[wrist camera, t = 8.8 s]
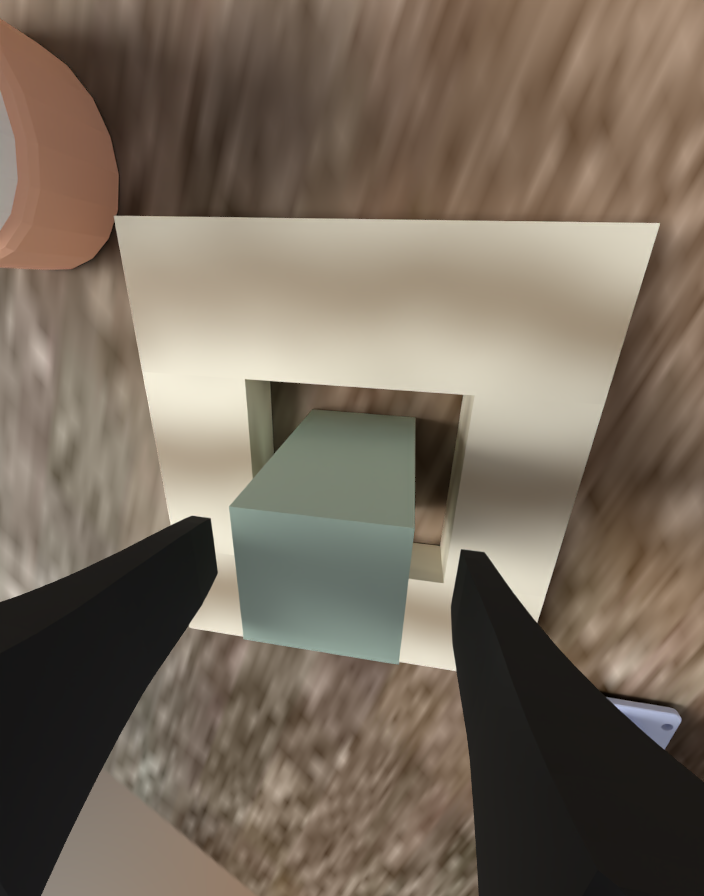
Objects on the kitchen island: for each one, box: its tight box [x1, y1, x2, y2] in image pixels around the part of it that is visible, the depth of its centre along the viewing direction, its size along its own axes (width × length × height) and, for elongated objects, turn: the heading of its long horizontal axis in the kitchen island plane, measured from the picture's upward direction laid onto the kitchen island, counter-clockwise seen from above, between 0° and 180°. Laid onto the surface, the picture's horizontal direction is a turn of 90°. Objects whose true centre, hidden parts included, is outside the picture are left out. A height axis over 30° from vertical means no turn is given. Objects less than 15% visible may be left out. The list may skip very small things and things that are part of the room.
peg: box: [229, 409, 415, 665], centre depth 13 cm, size 4×4×8 cm
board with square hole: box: [114, 216, 660, 671], centre depth 16 cm, size 18×16×2 cm
